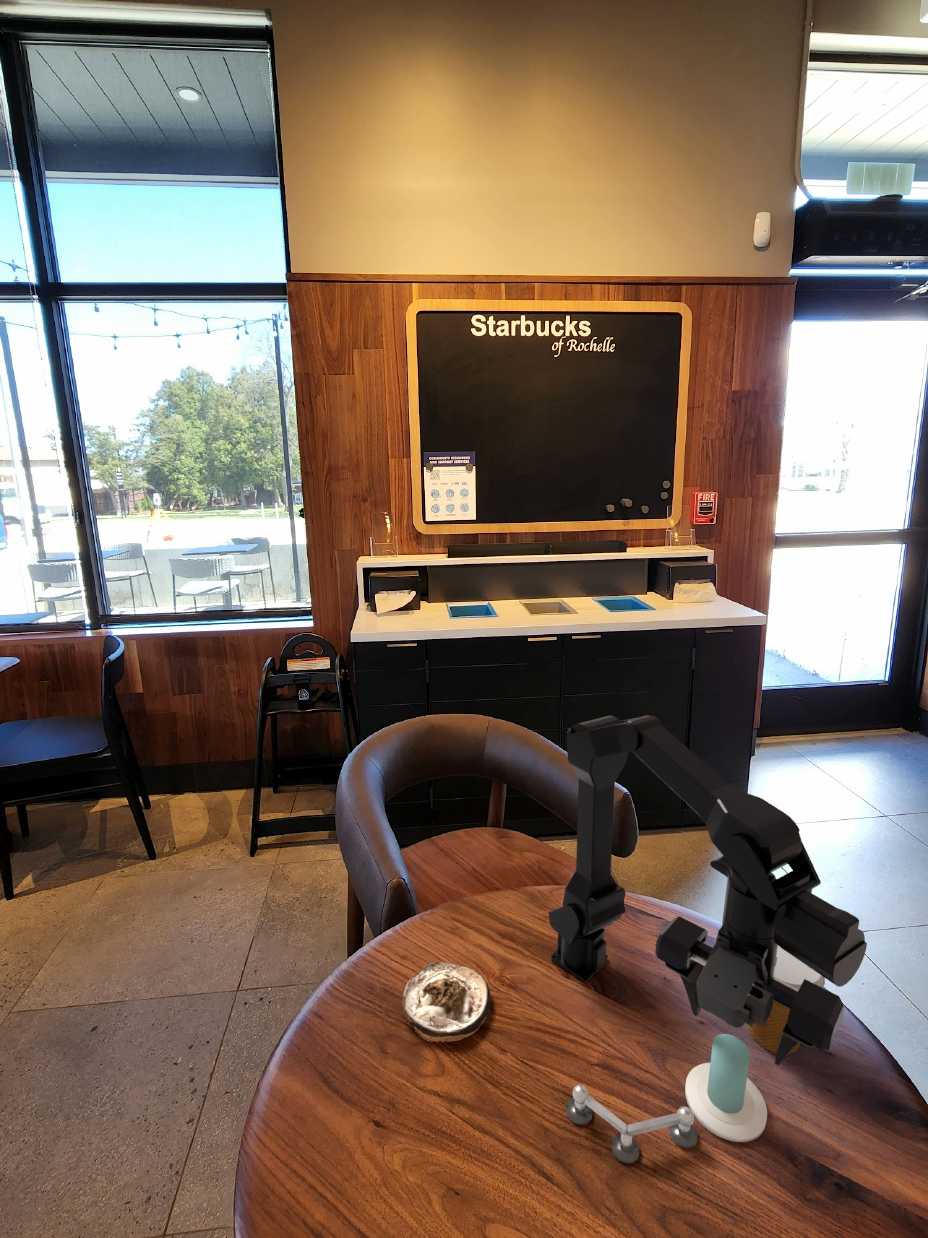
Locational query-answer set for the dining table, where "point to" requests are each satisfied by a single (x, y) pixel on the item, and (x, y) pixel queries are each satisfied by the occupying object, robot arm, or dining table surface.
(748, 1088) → the saucer
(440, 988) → the sushi roll
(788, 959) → the disposable coffee cup
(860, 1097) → the dining table surface
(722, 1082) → the peg
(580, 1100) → the railing
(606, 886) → the robot arm
